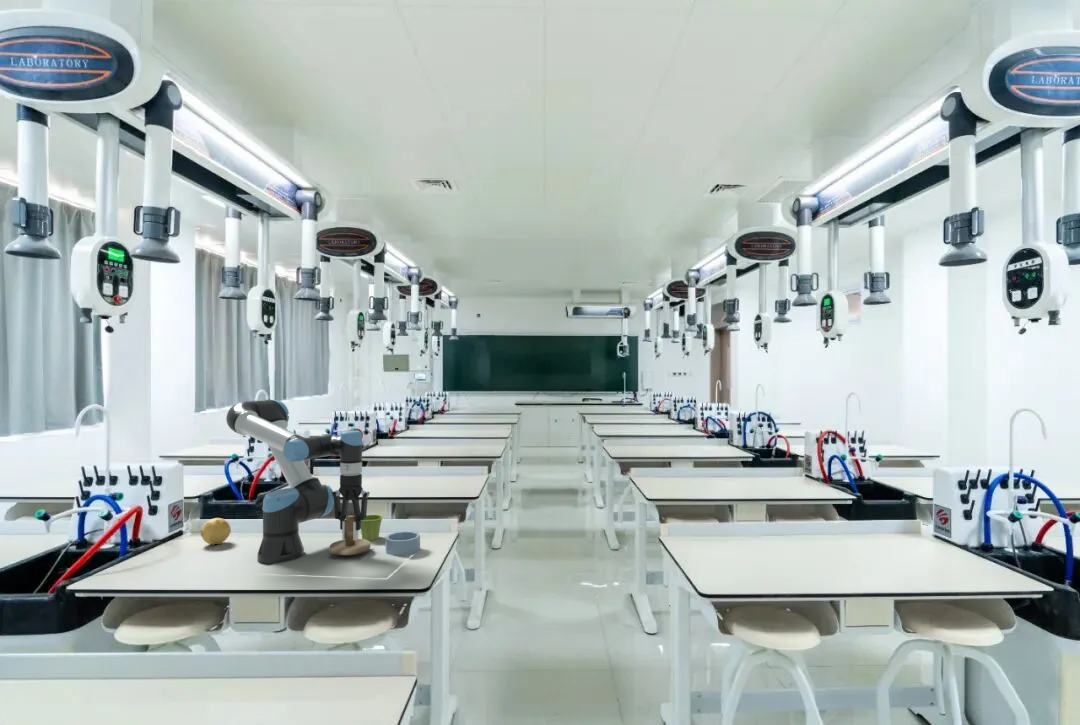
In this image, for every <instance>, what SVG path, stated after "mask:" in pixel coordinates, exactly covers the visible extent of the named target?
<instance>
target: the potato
mask: <svg viewBox="0 0 1080 725" xmlns="http://www.w3.org/2000/svg"><path fill="white" fill-rule="evenodd" d="M230 534H231V525H230V523H229V522H228V521H227V520H226V519H224V518H220V517H215V518H211V519H209V520H208V521H206V522H205V523H204V525H203V526H202V528H201V529H200V537H201V538H202V540H203V541H204V542H205V543H207V544H209V545H212V544H219V545H221V544H222V543H223V542H226V540H227V539H228V537H229V536H230Z"/></svg>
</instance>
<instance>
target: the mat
mask: <svg viewBox="0 0 1080 725" xmlns="http://www.w3.org/2000/svg"><path fill="white" fill-rule="evenodd" d="M373 550H375V549H374V548H370V549H369V550H367V551H365V552H362V553H359V554H353V555H337V554H333V553H332V555H331V556H329V557H327V559H329V560H355V561H356V560H357V561H358V560H359V561H361V560H362V559H363V558H364V557H366V556H367V555H369V553H371V552H373Z"/></svg>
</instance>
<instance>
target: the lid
mask: <svg viewBox="0 0 1080 725" xmlns="http://www.w3.org/2000/svg"><path fill="white" fill-rule="evenodd" d="M345 520H346V531H345V540H337V541H334V542H332V543H331V544H330V545H329V552H330V553H331V554H332V555H333V554H337V555H353V554H359V553H362V552H365V551H367V550H369V549H371V546H372V545H371V541H368V540H365V539H362V538H358V539H356V540H353V522H354V521H355V515H346V519H345Z"/></svg>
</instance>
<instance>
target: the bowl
mask: <svg viewBox="0 0 1080 725" xmlns="http://www.w3.org/2000/svg"><path fill="white" fill-rule="evenodd" d="M384 540H385V544H384V546H385V547H384V548H385V553H386V554H387V555H391V556H405V555H406V556H407V555H411V556H412V555H416V554H418V553H419V552H420V551H421V535H420V534H419V533H418V532H415V531H399V532H398V531H396V532H392V533H389V534H387V535H386V536H385V537H384Z"/></svg>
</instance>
